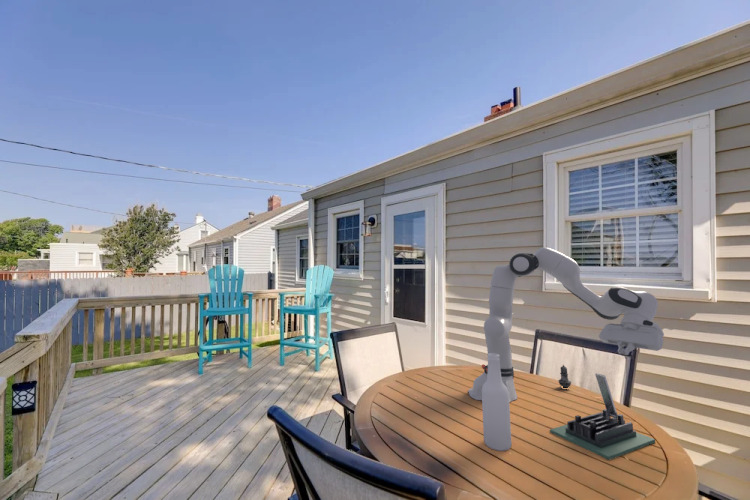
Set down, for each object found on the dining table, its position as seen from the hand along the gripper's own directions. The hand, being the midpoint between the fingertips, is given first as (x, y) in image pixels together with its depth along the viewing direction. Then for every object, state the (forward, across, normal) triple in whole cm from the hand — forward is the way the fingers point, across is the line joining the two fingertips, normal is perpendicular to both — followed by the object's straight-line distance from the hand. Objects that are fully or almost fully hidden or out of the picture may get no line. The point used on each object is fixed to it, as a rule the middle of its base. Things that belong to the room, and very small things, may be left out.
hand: (622, 353), depth 120 cm
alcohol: (+58, -11, -19) cm, 62 cm away
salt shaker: (+5, -39, +34) cm, 52 cm away
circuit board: (+32, 0, +7) cm, 32 cm away
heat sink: (+32, 0, +7) cm, 32 cm away
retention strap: (+19, 0, +1) cm, 19 cm away
